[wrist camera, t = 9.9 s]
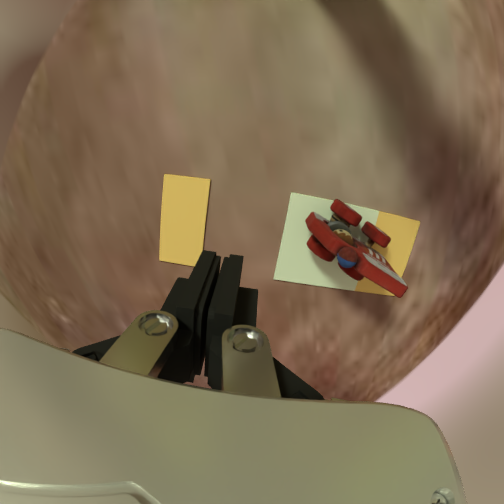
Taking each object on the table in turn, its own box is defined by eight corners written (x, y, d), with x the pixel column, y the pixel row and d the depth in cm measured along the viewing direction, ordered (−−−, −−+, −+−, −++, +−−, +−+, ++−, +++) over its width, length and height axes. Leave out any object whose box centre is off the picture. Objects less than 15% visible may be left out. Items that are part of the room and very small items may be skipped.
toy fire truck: (321, 187, 34) (343, 207, 24) (391, 237, 36) (427, 270, 26) (291, 232, 36) (300, 269, 26) (362, 276, 38) (388, 319, 28)
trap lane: (164, 173, 34) (164, 174, 34) (419, 221, 35) (420, 221, 35) (159, 259, 38) (159, 260, 38) (393, 295, 39) (394, 295, 39)
